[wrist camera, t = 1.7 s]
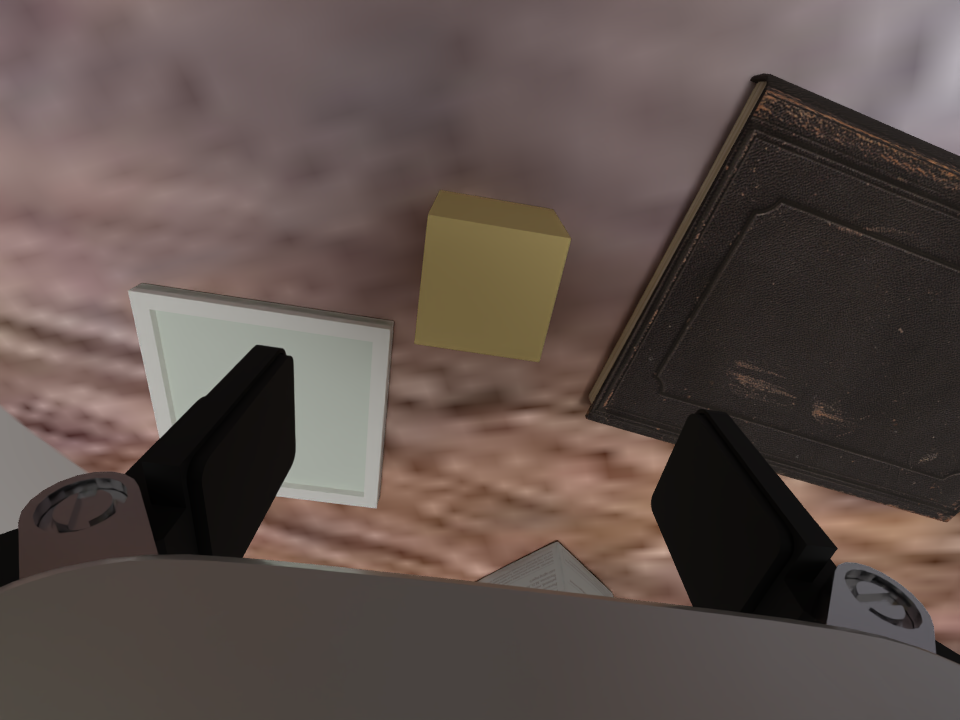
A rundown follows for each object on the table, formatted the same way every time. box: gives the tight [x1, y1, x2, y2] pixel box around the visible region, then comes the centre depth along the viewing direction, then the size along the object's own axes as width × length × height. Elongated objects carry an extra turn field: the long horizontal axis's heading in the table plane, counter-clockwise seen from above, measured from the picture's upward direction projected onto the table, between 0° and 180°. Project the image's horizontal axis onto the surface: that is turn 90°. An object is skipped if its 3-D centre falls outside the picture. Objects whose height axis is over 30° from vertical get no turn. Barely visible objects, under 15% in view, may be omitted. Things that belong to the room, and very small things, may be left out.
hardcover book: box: [585, 74, 960, 522], centre depth 23 cm, size 16×23×2 cm
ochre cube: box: [414, 190, 571, 362], centre depth 19 cm, size 5×5×5 cm
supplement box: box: [477, 542, 613, 597], centre depth 28 cm, size 7×7×13 cm
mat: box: [128, 283, 394, 508], centre depth 25 cm, size 12×12×1 cm
